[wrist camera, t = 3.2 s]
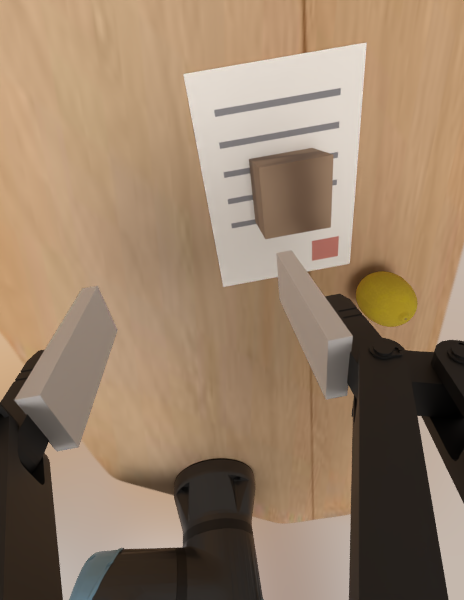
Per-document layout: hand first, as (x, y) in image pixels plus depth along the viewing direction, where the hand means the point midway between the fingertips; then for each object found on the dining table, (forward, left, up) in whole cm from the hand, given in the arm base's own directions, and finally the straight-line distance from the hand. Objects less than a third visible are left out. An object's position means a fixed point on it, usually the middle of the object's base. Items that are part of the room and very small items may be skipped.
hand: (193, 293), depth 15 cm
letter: (+9, 0, -17) cm, 20 cm away
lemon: (+19, -13, -18) cm, 29 cm away
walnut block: (+9, 0, -17) cm, 19 cm away
